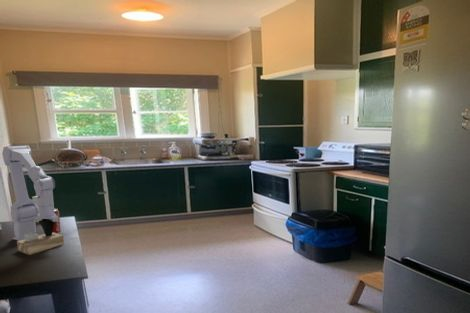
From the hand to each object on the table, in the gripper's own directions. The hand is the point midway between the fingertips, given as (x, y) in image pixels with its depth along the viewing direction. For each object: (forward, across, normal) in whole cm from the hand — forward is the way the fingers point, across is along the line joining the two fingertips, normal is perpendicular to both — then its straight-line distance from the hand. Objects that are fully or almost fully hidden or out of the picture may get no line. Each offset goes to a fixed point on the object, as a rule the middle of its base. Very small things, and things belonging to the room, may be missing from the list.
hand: (48, 235), depth 137 cm
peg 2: (+4, 0, 0) cm, 4 cm away
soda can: (+4, -14, +10) cm, 17 cm away
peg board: (+4, 0, -4) cm, 5 cm away
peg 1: (+1, 0, -7) cm, 7 cm away
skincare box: (+4, -44, +20) cm, 48 cm away
